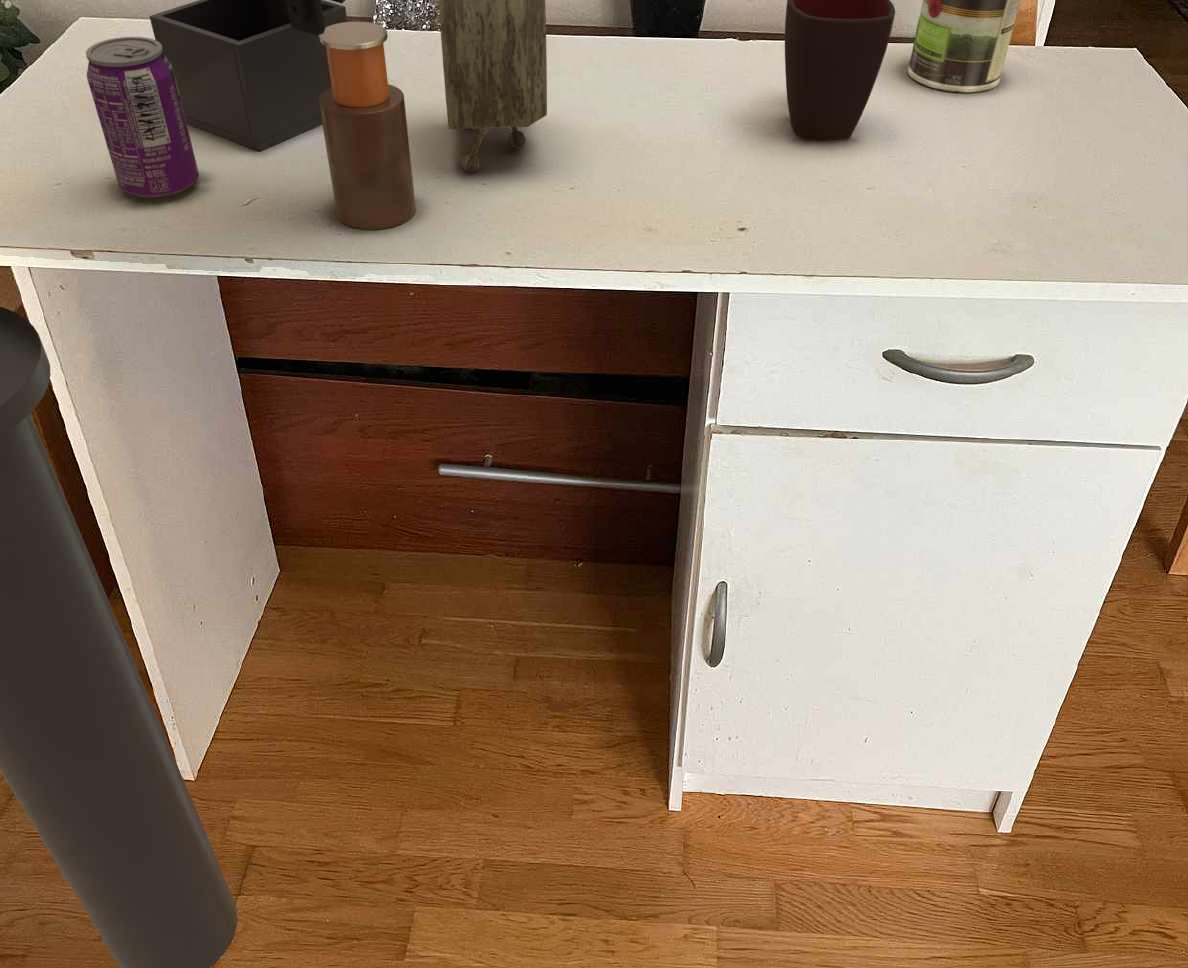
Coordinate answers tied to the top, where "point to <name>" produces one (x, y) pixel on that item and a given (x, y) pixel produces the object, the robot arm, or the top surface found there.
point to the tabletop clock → (493, 67)
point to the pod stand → (369, 161)
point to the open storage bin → (246, 68)
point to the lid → (339, 1)
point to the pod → (357, 63)
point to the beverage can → (141, 116)
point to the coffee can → (962, 43)
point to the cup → (833, 62)
